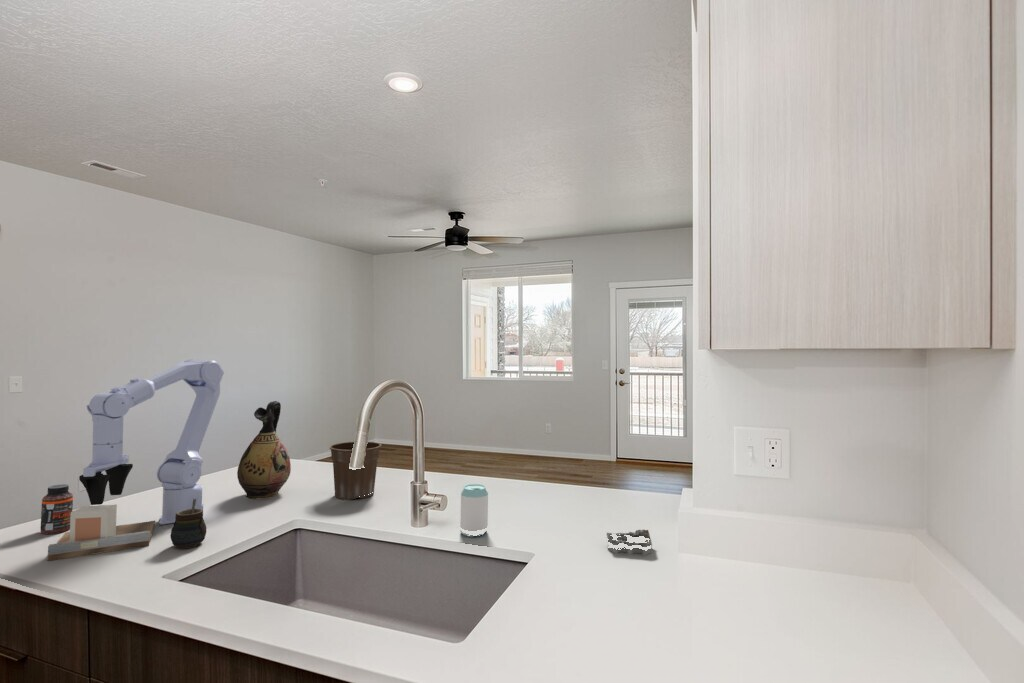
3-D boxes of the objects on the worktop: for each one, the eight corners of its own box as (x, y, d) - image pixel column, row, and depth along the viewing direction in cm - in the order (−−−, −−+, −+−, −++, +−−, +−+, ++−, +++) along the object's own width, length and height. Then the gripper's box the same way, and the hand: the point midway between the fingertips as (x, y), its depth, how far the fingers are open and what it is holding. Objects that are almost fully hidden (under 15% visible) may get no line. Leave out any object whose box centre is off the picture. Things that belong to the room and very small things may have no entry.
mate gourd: (167, 553, 115) (169, 509, 115) (172, 542, 122) (173, 500, 122) (204, 548, 118) (205, 505, 119) (207, 537, 125) (208, 497, 125)
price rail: (149, 539, 120) (149, 530, 120) (148, 540, 119) (149, 532, 119) (49, 553, 111) (49, 544, 111) (47, 555, 110) (48, 546, 110)
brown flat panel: (154, 525, 133) (154, 520, 133) (148, 545, 119) (149, 540, 119) (65, 537, 124) (65, 532, 124) (47, 560, 110) (47, 555, 110)
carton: (81, 540, 119) (82, 506, 119) (115, 538, 120) (116, 504, 121) (69, 547, 114) (70, 512, 115) (105, 545, 116) (106, 510, 116)
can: (492, 531, 132) (492, 485, 133) (479, 540, 126) (480, 491, 126) (468, 526, 135) (469, 482, 135) (455, 535, 129) (455, 488, 129)
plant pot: (343, 487, 173) (344, 439, 173) (388, 489, 171) (388, 441, 171) (318, 500, 157) (319, 448, 157) (367, 503, 155) (368, 450, 155)
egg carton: (650, 546, 124) (650, 529, 124) (652, 558, 117) (652, 540, 117) (606, 542, 127) (606, 525, 127) (605, 553, 119) (606, 536, 119)
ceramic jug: (276, 502, 154) (278, 404, 155) (226, 501, 155) (229, 403, 155) (300, 487, 171) (302, 399, 172) (255, 486, 172) (257, 398, 172)
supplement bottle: (52, 536, 125) (54, 490, 125) (33, 533, 126) (35, 488, 126) (78, 527, 130) (79, 483, 131) (59, 525, 132) (61, 482, 132)
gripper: (108, 448, 115) (107, 508, 115) (142, 437, 129) (141, 490, 129) (73, 449, 114) (72, 509, 113) (111, 437, 128) (110, 491, 128)
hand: (106, 499), depth 121 cm, fingers open, 7 cm apart
